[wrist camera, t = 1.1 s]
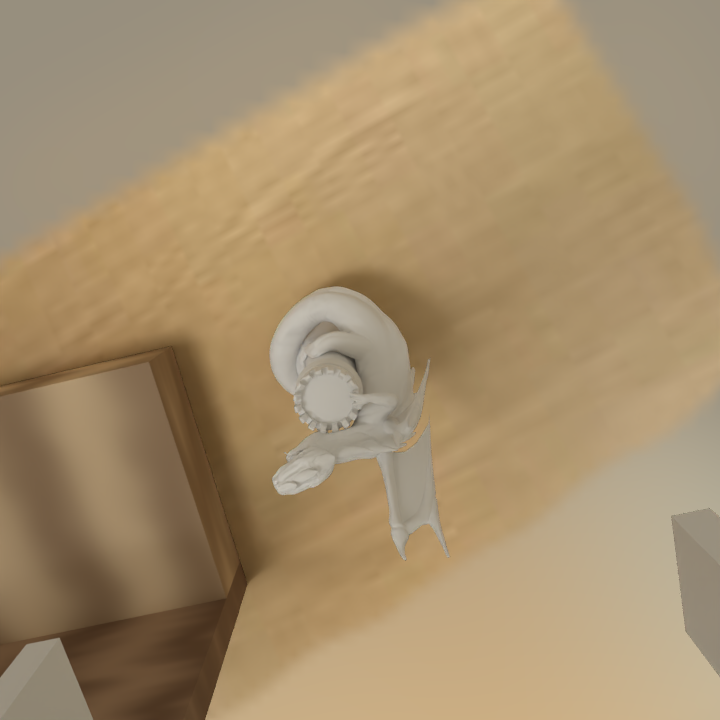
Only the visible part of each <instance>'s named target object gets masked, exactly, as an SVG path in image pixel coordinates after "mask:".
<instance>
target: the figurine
mask: <svg viewBox="0 0 720 720" xmlns="http://www.w3.org/2000/svg"><path fill="white" fill-rule="evenodd" d="M269 356H270V364H271V369H272V372H273V374H274V376H275V378H276V379H277V381H278V382H279V383H280V385H281V386H282V387H283V388H284V389H285V390H286V391H288V392H289V393H291V394H292V395H294V400H293V401H295V406H294V409H295V412H296V413H299V415H300V417H299V420H300V421H301V422H302V423H304V422H306V423H308V424H309V426H308V428H309V429H311V430H313V431H314V429H315V428H317V430H318V432H315V433H313V434H311V435H309V436H308V437H306V438H305V439H304V440H303V441H302V442H301V443H300V444H299V445H298V446H297V447H296V448H294V449H292V450H291V451H290V452H289V453H288V454H287V456H286V459H287V461H288V462H287V463H286V464H285V465H283V466H281V467H280V468H279V469H278V471H277V472H276V474H275V475H274V476H273V478H272V482H273V485H274V487H275V489H276V490H277V492H278V493H279V494H281V495H287V494H291V495H294V494H297V493H300V492H302V491H304V490H306V489H308V488H310V487H311V488H313V487H315V486H317V485H319V484H320V483H322V482H323V481H324V480H326V479H327V478H328V477H329V476H330V475H331V473H332V471H333V469H334V464H340V463H344V462H349V461H353V460H357V459H372V458H375V457H376V458H377V461H378V464H379V466H380V468H381V471H382V475H383V479H384V483H385V487H386V493H387V499H388V504H389V524H390V526H391V528H392V529H391V536H392V538H393V541H394V543H395V545H396V547H397V549H398V552H399V554H400V556H401V557H402V558H403V559H404V560H406V556H405V544H406V542H407V540H408V538H409V535H410V534H412V533H413V532H414V531H416V530H417V529H418V528H419V527H420V526H422V525H425V524H430V526H431V527H432V528H433V530H434V531H435V533H436V535H437V537H438V539H439V541H440V543H441V545H442V547H443V549H444V551H445V553H446V555H447V557H448V558H449V557H450V556H449V553H448V550H447V546H446V543H445V539H444V536H443V532H442V529H441V524H440V520H439V513H438V505H437V499H436V497H435V495H436V491H435V482H434V475H433V464H432V455H431V437H430V422H429V424H428V425H427V427H426V429H425V430H424V432H423V433H422V435H421V437H420V438H419V440H418V441H417V443H416V444H415V445H413V446H412V447H410V448H409V449H408V450H407V451H405V452H400V453H399V452H398V453H396V452H392V451H398V449H399V448H401V447H403V446H406V445H407V444H406V443H402V442H405V441H407V440H408V439H410V438H411V437H413V436H414V435H415V433H416V432H413V430H414V429H415V428H416V426H417V424H418V422H419V419H420V417H421V413H422V408H423V402H424V395H425V388H426V382H427V378H428V373H429V364H430V360H429V359H428V362H427V367H426V371H425V374H424V377H423V380H422V382H421V385H420V387H419V390H418V392H417V393H414V394H413V385H414V378H415V369H414V367H412V368H410V361H409V353H408V347H407V343H406V341H405V339H404V338H403V336H402V334H401V332H400V330H399V329H398V327H397V326H396V324H395V323H394V322H393V321H392V320H391V319H390V318H389V317H388V316H387V315H386V314H385V313H383V312H382V311H381V310H380V308H379V307H378V306H377V305H376V304H375V303H374V302H372V301H371V300H370V299H369V298H367V297H366V296H364V295H363V294H361V293H359V292H356V291H354V290H351V289H348V288H344V287H339V286H333V287H327V288H321V289H318V290H316V291H314V292H313V293H311V294H309V295H307V296H306V297H304V298H303V299H301V300H300V301H299V302H298V303H296V304H295V305H294V306H293V307H292V308H291V309H290V310H289V311H288V312H287V314H286V315H285V316H284V317H283V319H282V320H281V322H280V323H279V325H278V327H277V329H276V331H275V334H274V336H273V338H272V341H271V345H270V354H269ZM430 359H431V357H430ZM358 409H359V410H358ZM351 420H355V421H354V423H353V425H352V426H351V427H350V428H347V427H348V426H350V422H351ZM341 427H344V430H341V431H339V428H341ZM346 428H347V429H346ZM328 430H332V433H328ZM412 432H413V433H412ZM284 453H285V454H286V452H284Z"/></svg>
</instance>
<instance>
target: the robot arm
mask: <svg viewBox="0 0 720 720" xmlns="http://www.w3.org/2000/svg"><path fill="white" fill-rule="evenodd" d="M671 518H672V525H673V534H674V541H675V550H676V557H677V566H678V574H679V581H680V590H681V598H682V606H683V614H684V621H685V629H686V632H687V634H688V635H689V636H690V638H691V639H692V640H693V642H694V643H695V644H696V646H697V647H698V648H699V650H700V651H701V652H702V654H703V655H704V656H705V657H706V659H707V660H708V662H709V663H710V664H711V666H712V667H713V668H714V670H715V671H716V672H717V674H718V675H719V676H720V517H719V516H718V515H717V514H716V513H715V512H713V511H712V510H711V509H710V508H709V509H704V510H698V511H693V512H688V513H683V514H679V515H674V516H671ZM0 720H93V718H92V715H91V713H90V710H89V708H88V706H87V703H86V701H85V698H84V696H83V693H82V691H81V689H80V686H79V684H78V681H77V679H76V676H75V674H74V672H73V669H72V667H71V664H70V662H69V659H68V657H67V655H66V652H65V650H64V647H63V645H62V642H61V640H60V638H55V639H50V640H45V641H40V642H35V643H30V644H26V646H25V647H24V648H23V649H22V651H21V652H20V653H19V654H18V656H17V657H16V658H15V659H14V661H13V662H12V663H11V665H10V666H9V667H8V668H7V670H6V671H5V672H4V673H3V675H2V676H1V677H0Z"/></svg>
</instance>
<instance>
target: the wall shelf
mask: <svg viewBox="0 0 720 720" xmlns="http://www.w3.org/2000/svg"><path fill="white" fill-rule="evenodd" d="M246 587H247V582H246V579H245V576H244V573H243V569H242V566H241V563H240V560H239V557H238V554H237V551H236V547H235V544H234V541H233V538H232V535H231V532H230V528H229V525H228V522H227V519H226V516H225V513H224V510H223V506H222V503H221V500H220V497H219V494H218V491H217V488H216V484H215V481H214V478H213V475H212V472H211V469H210V466H209V462H208V459H207V456H206V453H205V450H204V447H203V444H202V440H201V437H200V434H199V431H198V428H197V425H196V422H195V418H194V415H193V412H192V409H191V406H190V403H189V400H188V396H187V393H186V390H185V387H184V384H183V381H182V377H181V374H180V371H179V368H178V365H177V362H176V359H175V355H174V352H173V349H172V346H170V347H165V348H161V349H157V350H153V351H148V352H144V353H140V354H135V355H131V356H127V357H123V358H118V359H114V360H110V361H106V362H101V363H97V364H93V365H88V366H84V367H80V368H76V369H71V370H67V371H63V372H58V373H54V374H50V375H46V376H41V377H37V378H33V379H29V380H24V381H20V382H16V383H11V384H7V385H3V386H0V677H1V676H2V675H3V673H4V672H5V671H6V670H7V668H8V667H9V666H10V665H11V663H12V662H13V661H14V659H15V658H16V657H17V656H18V654H19V653H20V652H21V651H22V649H23V648H24V647H25V646H26V644H30V643H35V642H40V641H45V640H50V639H55V638H60V640H61V642H62V645H63V647H64V650H65V652H66V655H67V657H68V659H69V662H70V664H71V667H72V669H73V672H74V674H75V676H76V679H77V681H78V684H79V686H80V689H81V691H82V693H83V696H84V698H85V701H86V703H87V706H88V708H89V710H90V713H91V715H92V718H93V720H205V718H206V715H207V711H208V708H209V705H210V702H211V699H212V696H213V692H214V689H215V686H216V683H217V680H218V676H219V673H220V670H221V667H222V664H223V660H224V657H225V654H226V651H227V648H228V645H229V641H230V638H231V635H232V632H233V629H234V625H235V622H236V619H237V616H238V613H239V609H240V606H241V603H242V600H243V597H244V594H245V590H246Z"/></svg>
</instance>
